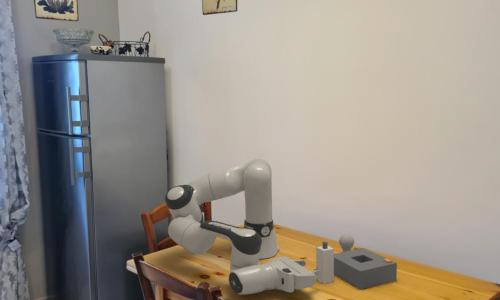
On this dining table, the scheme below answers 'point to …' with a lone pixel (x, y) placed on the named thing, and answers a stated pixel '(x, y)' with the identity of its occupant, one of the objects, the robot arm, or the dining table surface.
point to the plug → (325, 263)
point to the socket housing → (364, 268)
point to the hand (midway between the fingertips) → (311, 267)
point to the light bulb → (346, 242)
